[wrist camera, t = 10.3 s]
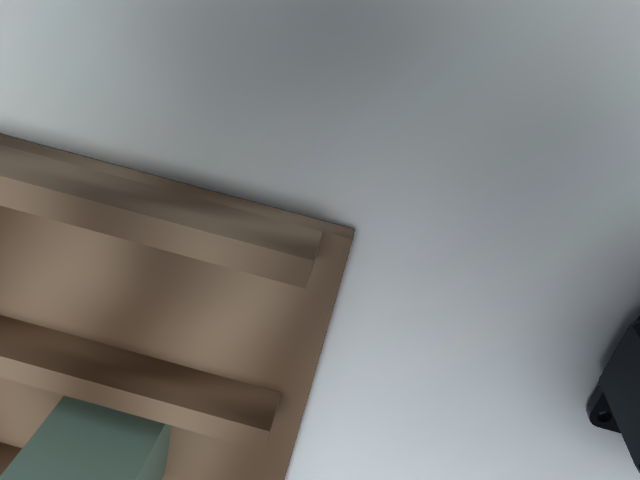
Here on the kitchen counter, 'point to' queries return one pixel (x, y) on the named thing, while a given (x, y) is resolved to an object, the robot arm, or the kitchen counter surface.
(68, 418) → the green block
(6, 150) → the divided brown tray
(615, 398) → the robot arm
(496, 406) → the kitchen counter surface
